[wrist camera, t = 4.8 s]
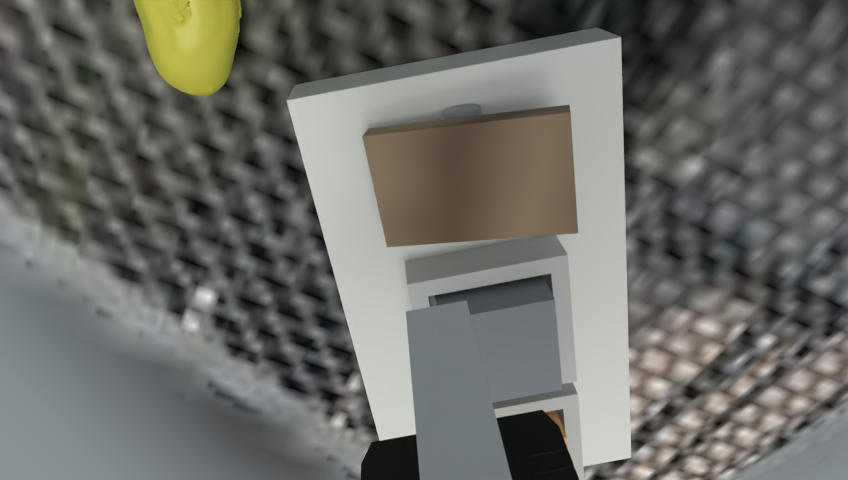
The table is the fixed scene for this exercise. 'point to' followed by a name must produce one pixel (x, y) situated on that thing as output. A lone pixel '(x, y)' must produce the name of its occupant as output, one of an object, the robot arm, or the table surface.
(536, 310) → the charcoal button
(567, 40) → the switch housing
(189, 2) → the lemon
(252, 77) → the table surface
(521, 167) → the walnut rocker
